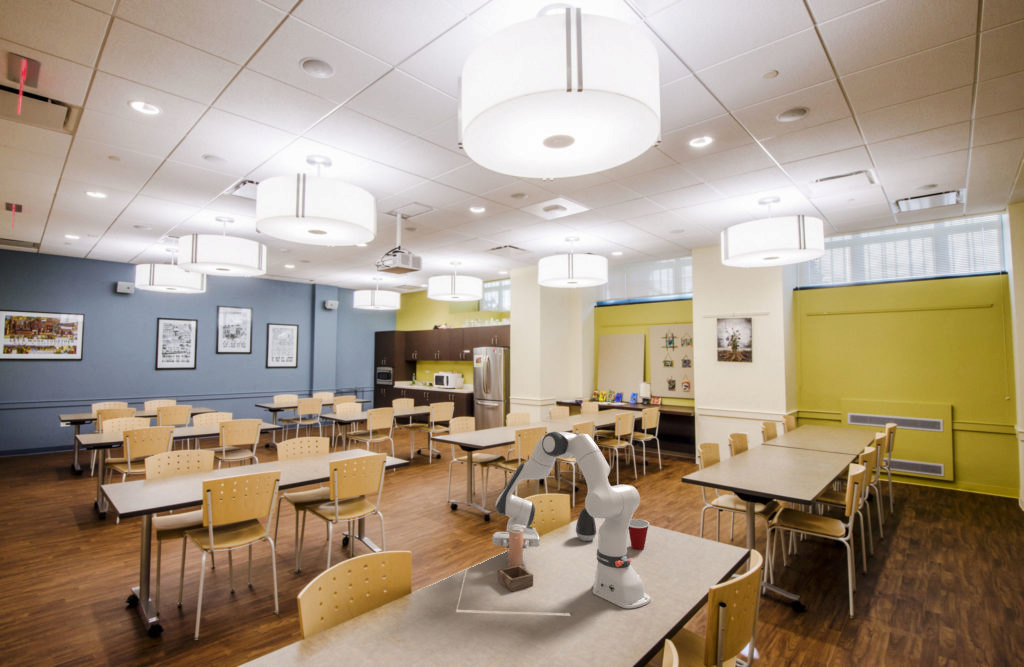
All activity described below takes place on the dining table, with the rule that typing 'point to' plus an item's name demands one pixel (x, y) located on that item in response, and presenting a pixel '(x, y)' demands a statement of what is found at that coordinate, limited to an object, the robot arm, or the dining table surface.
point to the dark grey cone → (585, 526)
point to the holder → (515, 578)
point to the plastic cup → (638, 533)
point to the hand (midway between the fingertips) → (516, 546)
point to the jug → (515, 546)
